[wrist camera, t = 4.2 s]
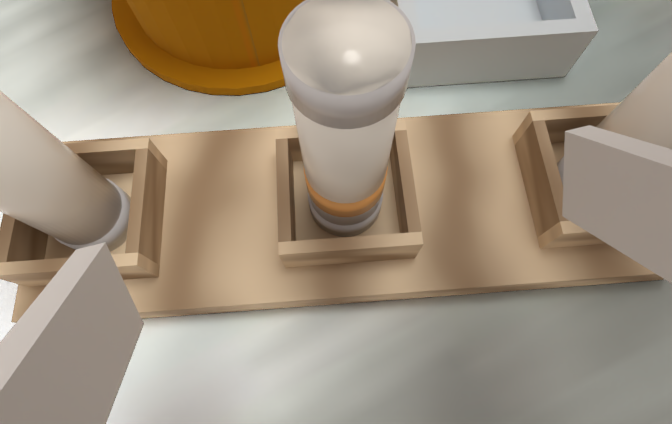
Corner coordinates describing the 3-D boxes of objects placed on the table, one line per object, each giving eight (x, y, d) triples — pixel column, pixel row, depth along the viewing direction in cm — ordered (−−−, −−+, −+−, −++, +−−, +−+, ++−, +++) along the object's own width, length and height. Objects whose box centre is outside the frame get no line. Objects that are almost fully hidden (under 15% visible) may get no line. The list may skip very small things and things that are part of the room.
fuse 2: (611, 151, 24) (844, -45, 13) (632, 215, 23) (915, 59, 11) (542, 156, 24) (717, -37, 13) (560, 221, 23) (772, 68, 11)
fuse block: (608, 120, 27) (656, 73, 23) (662, 279, 23) (731, 258, 19) (65, 159, 27) (14, 118, 22) (38, 326, 23) (-30, 315, 19)
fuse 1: (140, 185, 24) (-42, 14, 13) (133, 252, 22) (-76, 128, 11) (70, 190, 24) (-175, 23, 13) (60, 257, 22) (-225, 139, 11)
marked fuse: (376, 168, 24) (406, -16, 13) (384, 233, 23) (425, 93, 11) (308, 173, 24) (276, -7, 13) (311, 239, 23) (279, 103, 11)
